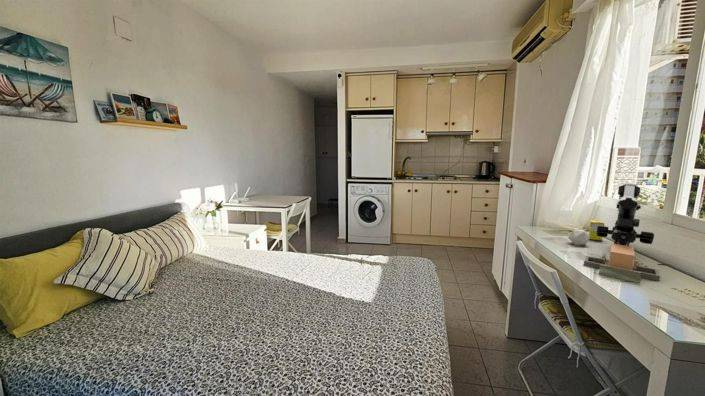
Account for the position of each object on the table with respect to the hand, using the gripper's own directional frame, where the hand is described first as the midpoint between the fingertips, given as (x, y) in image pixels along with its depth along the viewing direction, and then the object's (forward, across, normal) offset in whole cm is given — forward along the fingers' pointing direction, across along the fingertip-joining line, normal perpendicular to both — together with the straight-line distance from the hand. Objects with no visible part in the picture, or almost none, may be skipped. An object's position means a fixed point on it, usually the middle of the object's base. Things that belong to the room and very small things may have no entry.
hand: (621, 249), depth 127 cm
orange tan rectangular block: (+10, 0, -1) cm, 10 cm away
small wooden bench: (+10, 0, 0) cm, 10 cm away
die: (-12, -17, +22) cm, 30 cm away
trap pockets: (+11, 0, -1) cm, 11 cm away
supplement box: (-25, -11, +34) cm, 44 cm away
